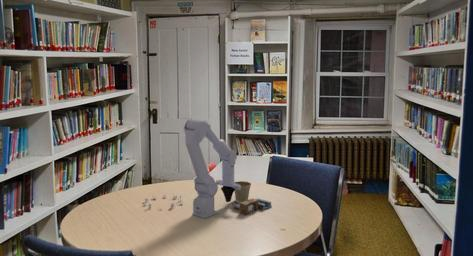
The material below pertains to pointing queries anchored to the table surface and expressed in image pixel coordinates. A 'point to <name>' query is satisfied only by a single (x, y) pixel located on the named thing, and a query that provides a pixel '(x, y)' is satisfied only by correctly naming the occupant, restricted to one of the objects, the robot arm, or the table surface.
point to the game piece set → (163, 197)
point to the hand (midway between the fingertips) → (228, 201)
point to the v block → (263, 204)
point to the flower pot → (242, 191)
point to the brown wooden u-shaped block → (245, 206)
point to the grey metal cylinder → (237, 206)
